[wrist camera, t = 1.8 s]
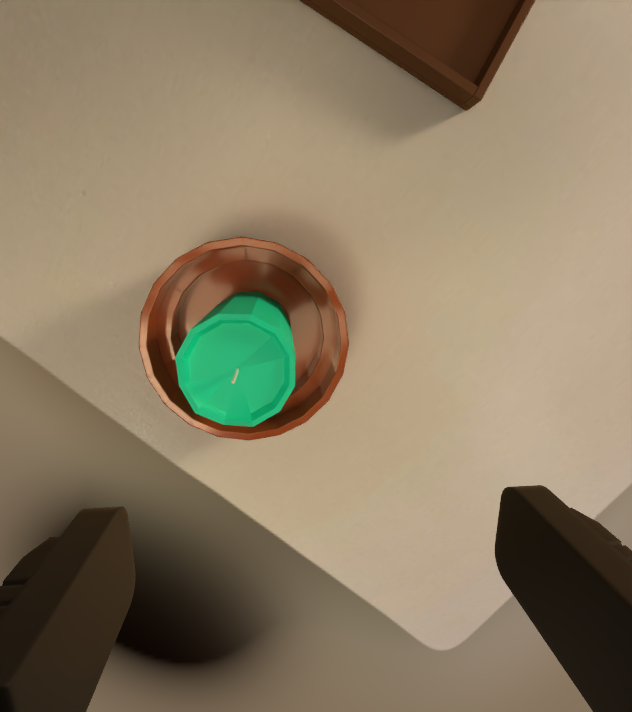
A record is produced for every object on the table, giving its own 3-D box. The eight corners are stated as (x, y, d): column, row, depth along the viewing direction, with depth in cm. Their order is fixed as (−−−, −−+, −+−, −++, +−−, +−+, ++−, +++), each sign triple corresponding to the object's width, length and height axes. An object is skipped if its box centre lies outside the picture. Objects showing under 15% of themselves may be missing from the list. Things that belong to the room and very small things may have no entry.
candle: (219, 280, 29) (180, 301, 18) (300, 303, 30) (314, 336, 19) (201, 359, 31) (153, 426, 19) (279, 378, 32) (279, 454, 20)
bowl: (134, 368, 31) (107, 390, 26) (205, 205, 28) (190, 197, 24) (290, 436, 33) (291, 468, 29) (367, 291, 31) (384, 299, 26)
